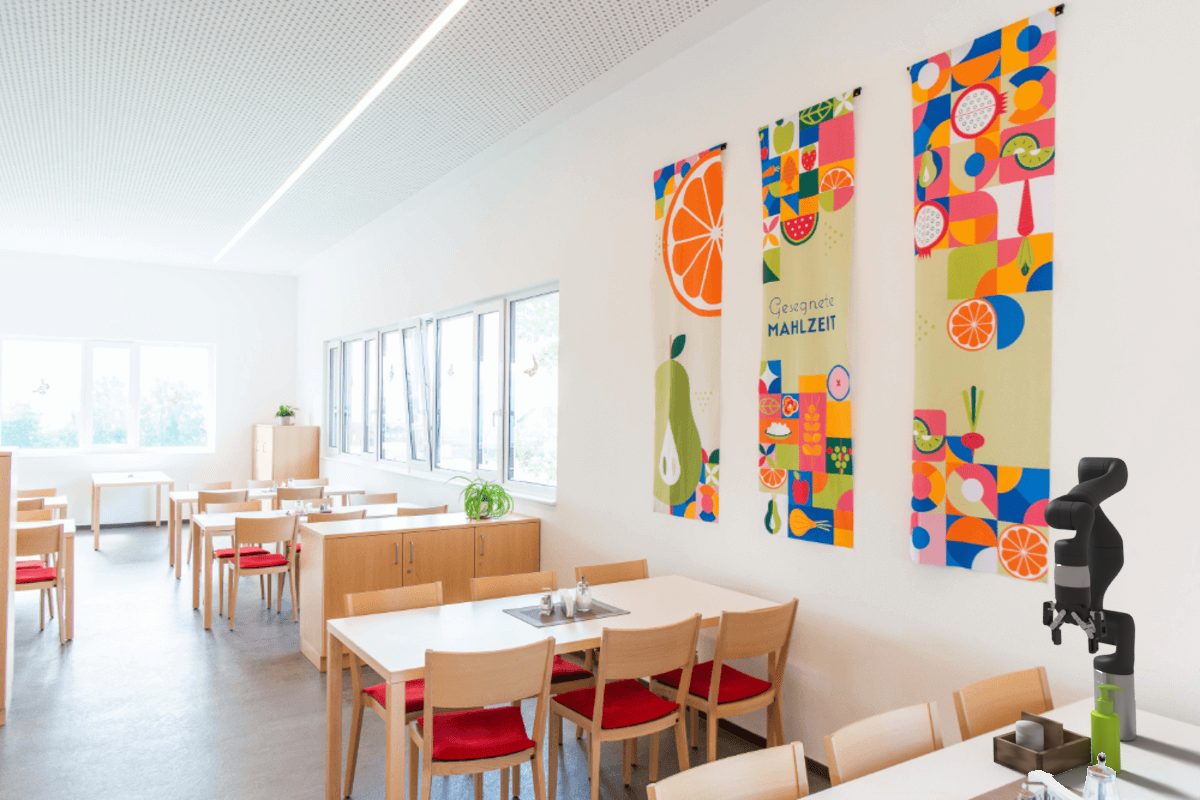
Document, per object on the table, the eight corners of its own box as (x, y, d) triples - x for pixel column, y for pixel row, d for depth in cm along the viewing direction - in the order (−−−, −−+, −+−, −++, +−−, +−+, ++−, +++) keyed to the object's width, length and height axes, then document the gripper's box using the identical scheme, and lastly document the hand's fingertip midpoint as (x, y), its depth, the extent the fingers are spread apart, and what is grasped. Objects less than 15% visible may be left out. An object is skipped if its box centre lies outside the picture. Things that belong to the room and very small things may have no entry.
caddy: (993, 761, 191) (992, 716, 192) (1044, 745, 201) (1043, 702, 202) (1040, 780, 181) (1039, 733, 181) (1091, 762, 191) (1090, 717, 191)
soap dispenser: (1130, 775, 184) (1127, 690, 185) (1098, 772, 185) (1095, 688, 186) (1119, 764, 189) (1116, 682, 190) (1088, 762, 191) (1085, 680, 192)
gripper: (1111, 585, 185) (1114, 653, 184) (1052, 575, 197) (1055, 639, 197) (1093, 589, 181) (1095, 659, 181) (1034, 579, 194) (1037, 644, 193)
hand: (1074, 648), depth 189 cm, fingers open, 8 cm apart
